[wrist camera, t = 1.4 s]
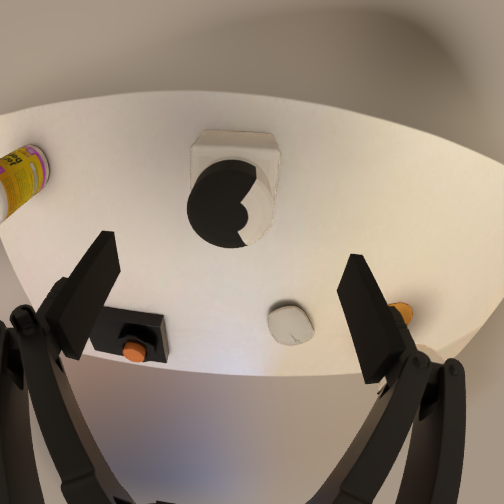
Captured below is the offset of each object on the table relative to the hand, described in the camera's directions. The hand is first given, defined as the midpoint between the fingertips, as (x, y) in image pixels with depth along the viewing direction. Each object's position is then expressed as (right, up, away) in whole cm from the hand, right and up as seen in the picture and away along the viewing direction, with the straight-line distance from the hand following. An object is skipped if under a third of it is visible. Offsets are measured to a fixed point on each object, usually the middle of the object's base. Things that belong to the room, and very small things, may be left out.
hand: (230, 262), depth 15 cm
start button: (-17, -15, +26) cm, 34 cm away
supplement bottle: (-27, +12, +12) cm, 32 cm away
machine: (-20, -12, +28) cm, 37 cm away
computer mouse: (+7, -10, +27) cm, 30 cm away
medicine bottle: (0, +10, +14) cm, 17 cm away
